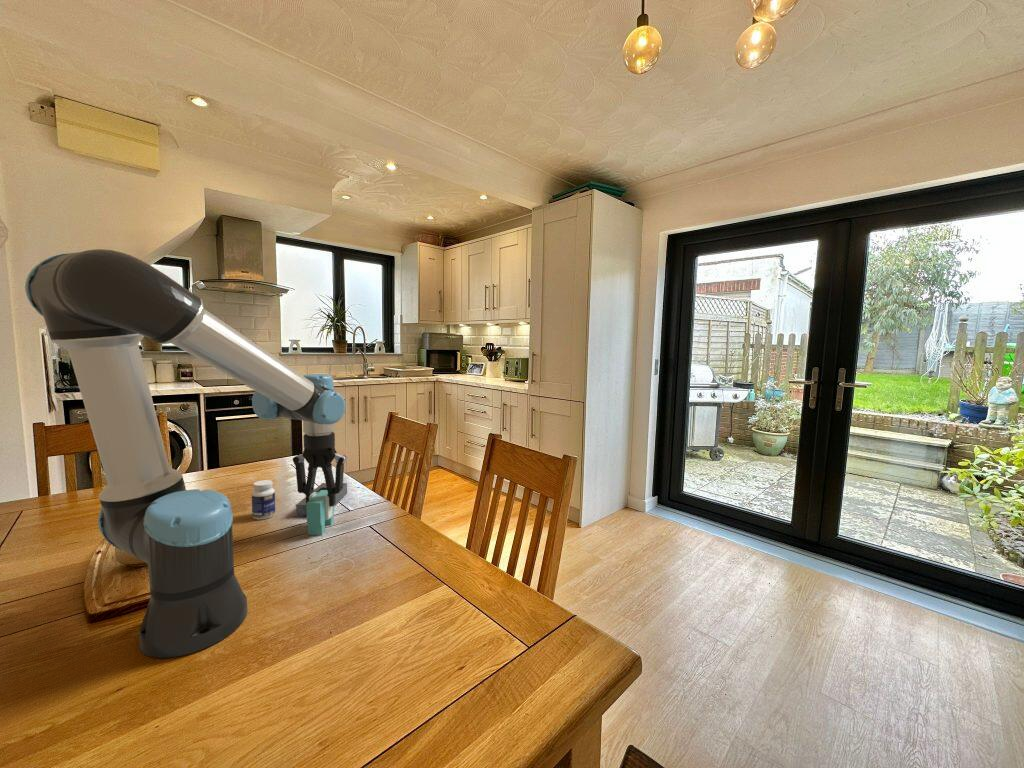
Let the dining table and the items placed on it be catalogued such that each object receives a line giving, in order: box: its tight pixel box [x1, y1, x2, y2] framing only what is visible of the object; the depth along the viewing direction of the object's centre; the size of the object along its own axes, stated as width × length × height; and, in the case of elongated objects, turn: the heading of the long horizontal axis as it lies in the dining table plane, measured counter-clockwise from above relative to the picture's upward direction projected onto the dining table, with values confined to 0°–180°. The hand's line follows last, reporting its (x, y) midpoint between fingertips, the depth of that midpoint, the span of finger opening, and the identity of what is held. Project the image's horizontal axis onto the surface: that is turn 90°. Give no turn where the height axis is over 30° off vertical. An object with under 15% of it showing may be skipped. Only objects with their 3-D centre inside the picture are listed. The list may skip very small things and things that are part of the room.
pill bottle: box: [251, 479, 276, 520], centre depth 116 cm, size 6×6×10 cm
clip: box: [306, 490, 335, 536], centre depth 110 cm, size 9×4×9 cm, turn 2°
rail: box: [295, 482, 348, 518], centre depth 126 cm, size 18×8×4 cm, turn 2°
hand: (321, 517), depth 110 cm, fingers closed on clip, 3 cm apart
